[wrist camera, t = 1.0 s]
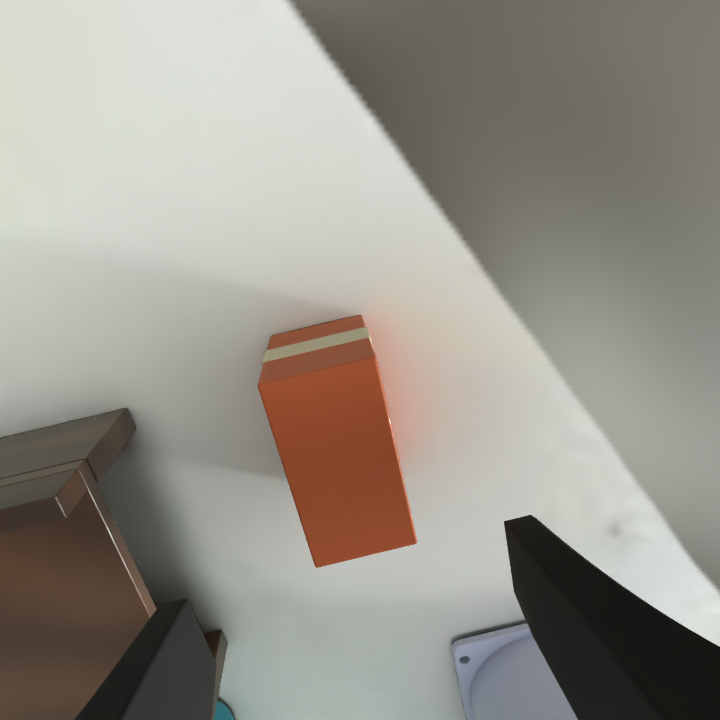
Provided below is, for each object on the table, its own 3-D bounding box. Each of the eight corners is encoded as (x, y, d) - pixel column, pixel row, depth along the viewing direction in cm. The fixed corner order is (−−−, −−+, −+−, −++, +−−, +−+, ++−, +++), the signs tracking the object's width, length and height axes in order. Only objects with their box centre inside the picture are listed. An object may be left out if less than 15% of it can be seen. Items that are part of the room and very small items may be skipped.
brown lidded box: (227, 644, 24) (202, 783, 19) (46, 688, 24) (-34, 840, 19) (127, 407, 20) (55, 496, 14) (-96, 460, 20) (-257, 570, 14)
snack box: (397, 467, 22) (419, 545, 17) (314, 487, 22) (314, 570, 17) (362, 312, 20) (377, 354, 15) (268, 334, 19) (254, 383, 15)
